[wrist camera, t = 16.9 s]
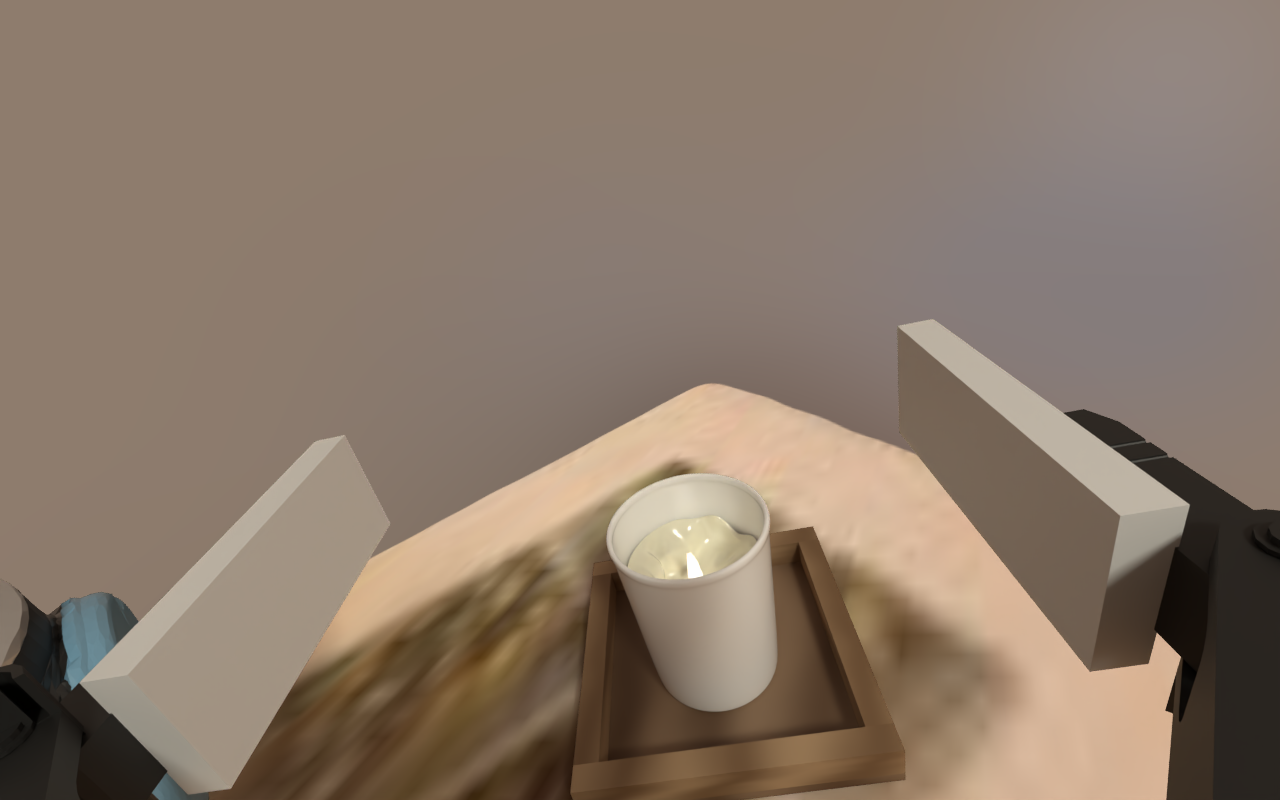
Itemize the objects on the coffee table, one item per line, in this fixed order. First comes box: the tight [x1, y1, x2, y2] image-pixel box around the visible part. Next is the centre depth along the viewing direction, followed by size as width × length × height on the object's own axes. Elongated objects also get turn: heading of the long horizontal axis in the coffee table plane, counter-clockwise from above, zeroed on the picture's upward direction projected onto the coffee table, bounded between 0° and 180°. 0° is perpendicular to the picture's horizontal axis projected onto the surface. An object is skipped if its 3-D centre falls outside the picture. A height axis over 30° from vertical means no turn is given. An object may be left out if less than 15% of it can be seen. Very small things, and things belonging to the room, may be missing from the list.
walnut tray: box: [570, 527, 905, 800], centre depth 40 cm, size 18×18×3 cm
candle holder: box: [606, 473, 778, 712], centre depth 37 cm, size 10×10×12 cm
